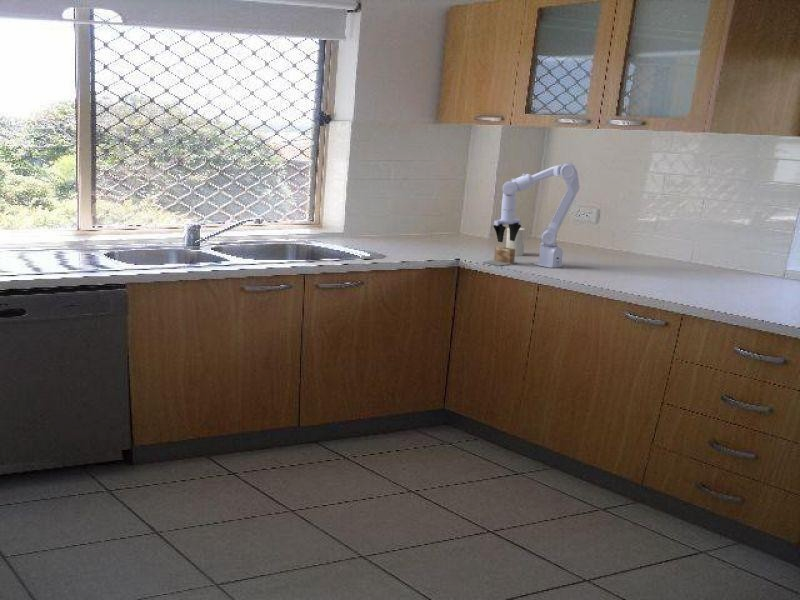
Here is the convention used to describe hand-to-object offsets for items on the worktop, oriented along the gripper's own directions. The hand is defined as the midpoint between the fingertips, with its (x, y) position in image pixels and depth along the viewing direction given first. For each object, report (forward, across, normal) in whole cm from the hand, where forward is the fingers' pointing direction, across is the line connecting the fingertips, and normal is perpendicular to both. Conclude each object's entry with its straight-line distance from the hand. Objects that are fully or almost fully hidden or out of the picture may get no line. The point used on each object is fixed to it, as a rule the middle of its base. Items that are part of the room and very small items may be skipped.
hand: (506, 241), depth 363 cm
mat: (+9, +3, 0) cm, 10 cm away
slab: (+9, 0, 0) cm, 9 cm away
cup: (+10, -21, -14) cm, 27 cm away
